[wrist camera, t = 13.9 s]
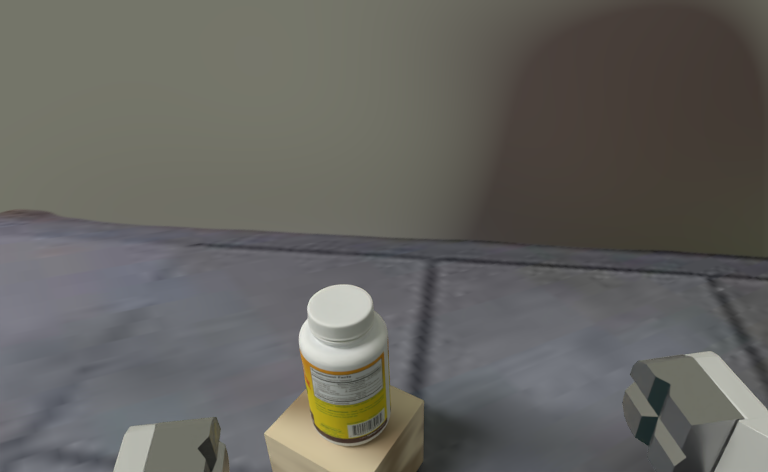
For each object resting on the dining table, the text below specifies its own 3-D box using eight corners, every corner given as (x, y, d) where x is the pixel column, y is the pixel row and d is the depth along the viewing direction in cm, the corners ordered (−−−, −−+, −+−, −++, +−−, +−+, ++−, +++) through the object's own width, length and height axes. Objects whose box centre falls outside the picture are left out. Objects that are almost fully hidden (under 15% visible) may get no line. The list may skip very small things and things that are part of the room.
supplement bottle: (333, 377, 42) (321, 268, 36) (402, 398, 40) (400, 286, 34) (296, 435, 38) (275, 322, 32) (371, 462, 36) (363, 346, 30)
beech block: (340, 418, 47) (333, 359, 43) (423, 461, 44) (423, 400, 40) (277, 493, 42) (264, 433, 38) (367, 550, 38) (361, 489, 34)
